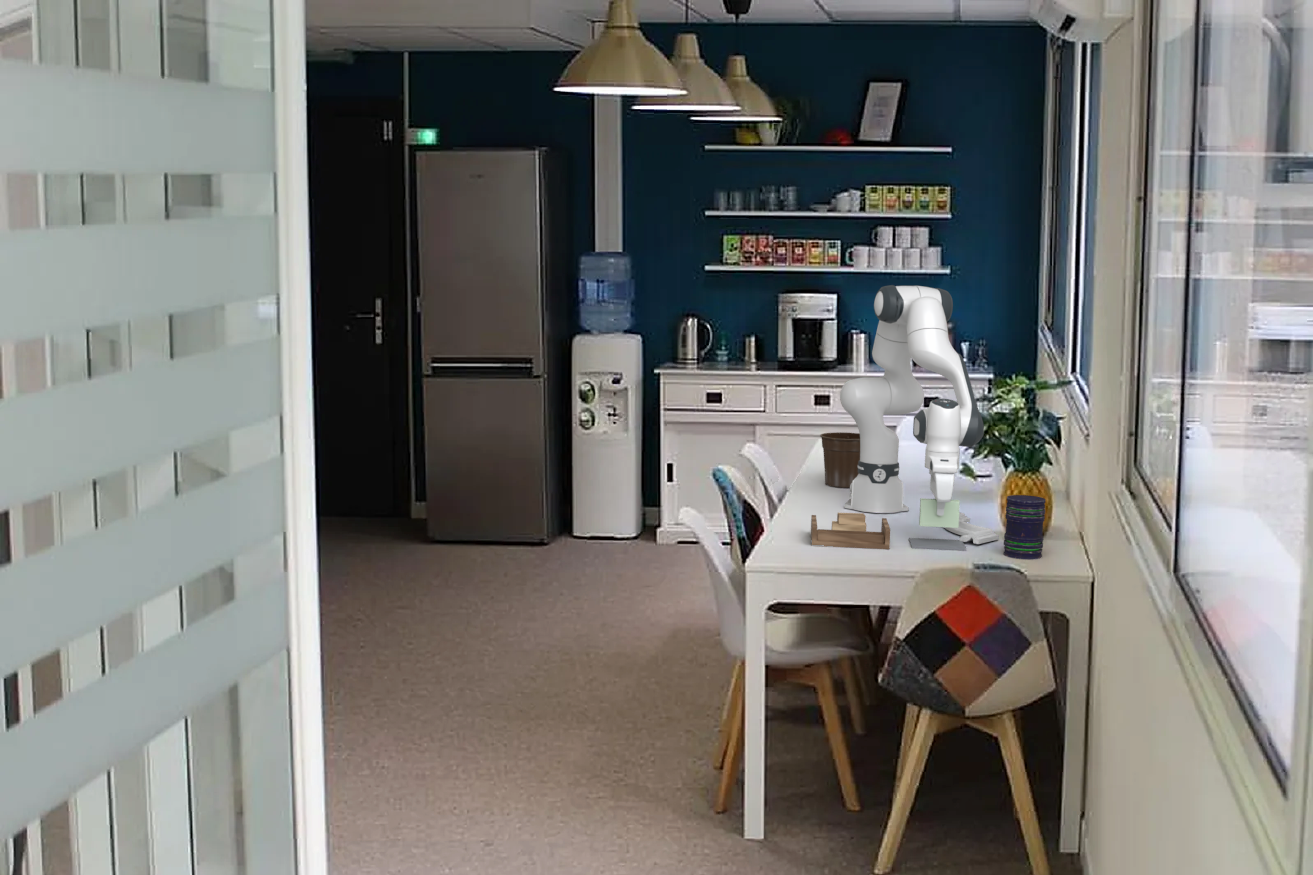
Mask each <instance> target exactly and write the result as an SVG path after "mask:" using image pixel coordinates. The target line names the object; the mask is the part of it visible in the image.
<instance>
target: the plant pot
mask: <svg viewBox="0 0 1313 875" xmlns="http://www.w3.org/2000/svg"><path fill="white" fill-rule="evenodd" d="M819 437H820V438H821V447H822V449H823V463H824V464H823V465H824V468H823V469H824V480H825V481H824V483H825V485H826V486H829V487H833V488H840V489H842V488H846V489H850V484H851V483H852V482H853V480H854V479H855V478H856V477H857V476H858V474H859V473H858V461H859V460H860V433H859V432H847V431H846V432H845V431H844V432H843V431H842V432H825V433H821V434H819Z"/></svg>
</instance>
